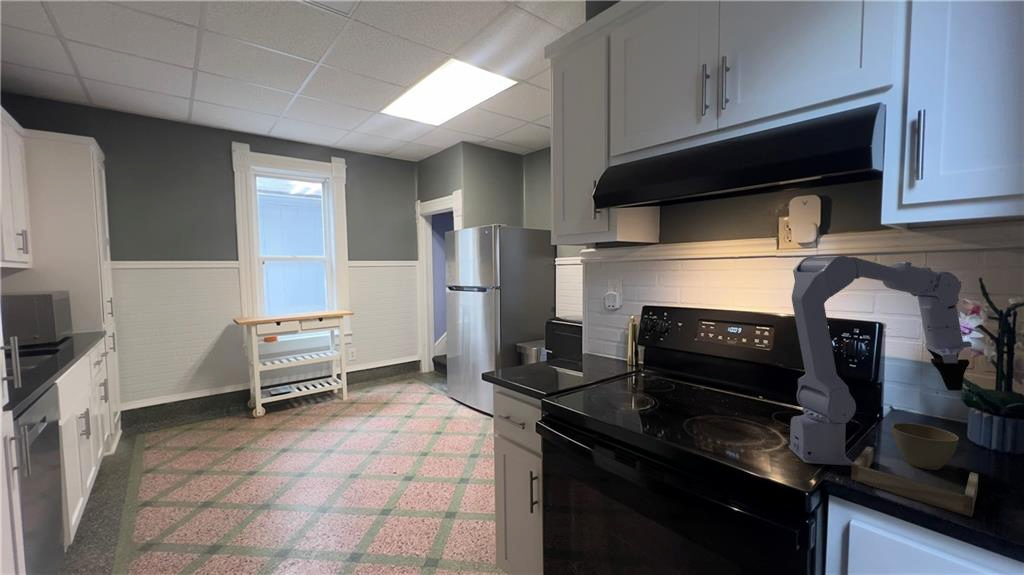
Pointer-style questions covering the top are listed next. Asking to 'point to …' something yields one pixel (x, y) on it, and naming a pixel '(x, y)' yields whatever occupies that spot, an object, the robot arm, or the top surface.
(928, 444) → the yellow bowl
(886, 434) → the top surface
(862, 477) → the frame
